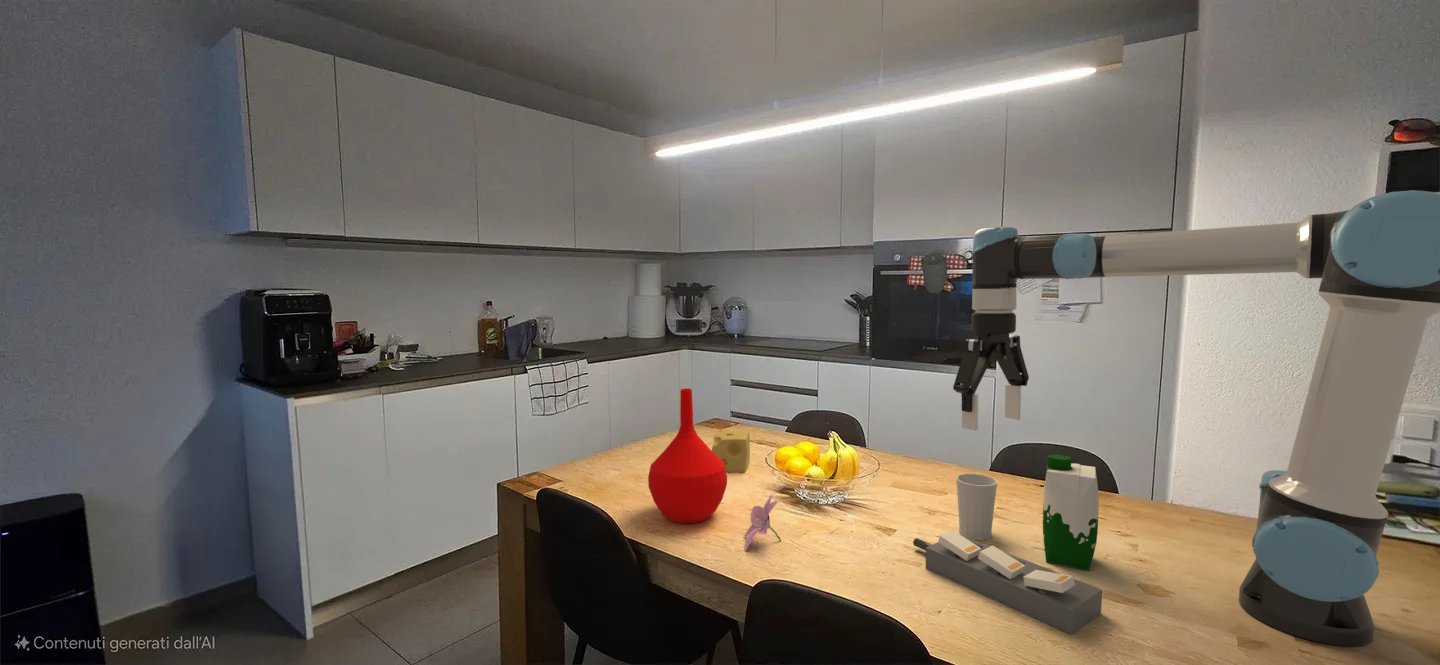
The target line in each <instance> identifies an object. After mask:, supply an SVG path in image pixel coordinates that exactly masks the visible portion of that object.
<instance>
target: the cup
mask: <svg viewBox="0 0 1440 665" xmlns="http://www.w3.org/2000/svg"><path fill="white" fill-rule="evenodd" d="M955 480H956V493H957V494H956V495H957V508H958V509H957V511H958V525H959V528H958V530H959V532H958V534H960V535H962V536H964V537H967V538H969V539H972V540H975V541H977V542H979V541H980V542H982V541H983V542H984V541H988V540H991V538H992V532H993V530H992V529H993V519H994V513H995V505H996V504H995V503H996V495H997V487H998V480H997V479H996V478H994V477H993V476H989V475H986V474H981V473H971V472H969V473H968V472H967V473H961V474H958V475H957V476H956V478H955Z"/></svg>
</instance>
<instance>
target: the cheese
mask: <svg viewBox="0 0 1440 665" xmlns="http://www.w3.org/2000/svg"><path fill="white" fill-rule="evenodd" d="M750 437H751V436H750V431H749V430H748V431H747V430H746V431H745V430H721V429H720V430H716V432H715V433H714V436H713V444H712V447H711V451H713V452H714V453H715V454H716V455H717V456H718V457H719V458H720V459H721V460H722V461H723V462H724V464H725V468H726V473H733V472H741V473H740V474H746V473H745V472H747V470H748V467H749V464H750V459H751V458H750V453H751V447H750V446H751V444H750V443H751V441H750Z"/></svg>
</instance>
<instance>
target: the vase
mask: <svg viewBox="0 0 1440 665" xmlns="http://www.w3.org/2000/svg"><path fill="white" fill-rule="evenodd" d="M679 400H680V407H679V409H680V412H679V413H680V425H679V430H678V432H677V434H676V436H675V437H674V438H673V439H672V440H671V441H670V443H669V444H668V446H666V448H665V449H664V450H663V451H662V452H661V453H660V455H658V456H657V458H655V460H654V461H653V462H652V463H651V464H650V466H649V472H648V478H647V479H648V481H647V482H648V483H647V484H648V489H649V492H650V495H651V497H652V500H653V503H654V504H655V506H656V507H657V509H658V510H659V511H660V513H661V514H662V515H663V516H664V517H666V518H667V519H668V520H669V521H671V522H674V523H677V524H678V523H679V524H696V523H697V524H698V523H701V522H704V521H705V520H708V519H709V518H710V517H711V516H712V515H713V514H714V513H715V512H716V510H717V509H718V507H719V506H720V505H721V502H722V500H723V498H724V495H725V492H726V488H727V486H728V472H726V468H725V464H724V462H723V461H722V460H721V459H720V458H719V457H718V456H717V455H716V454H715V453H714V452H713V451H712V449H711V448H710V447H709V446H708V445H707V444H706V443H705V441H703V440H702V438H700V436H699V435H698V433H697V432H696V430H695V426H694V409H693V408H694V407H693V406H694V404H693V389H692V388H681V389H680V399H679Z"/></svg>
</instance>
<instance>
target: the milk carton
mask: <svg viewBox="0 0 1440 665" xmlns="http://www.w3.org/2000/svg"><path fill="white" fill-rule="evenodd" d="M1046 457H1047V459H1046V464H1045V482H1044V491H1043V505H1042V506H1043V507H1042V509H1043V510H1042V513H1043V514H1042V537H1043V538H1042V539H1043V546H1044V555H1045V562H1046V563H1050V564H1054V565H1059V566H1064V567H1068V568H1073V569H1078V570H1081V571H1082V570H1083V571H1087V572H1090V571H1091V567H1092V566H1091V565H1092V562H1093V559H1094V556H1095V555H1094V554H1095V551H1096V547H1097V542H1098V541H1097V540H1098V533H1099V532H1098V531H1099V530H1098V529H1099V528H1098V527H1099V510H1100V508H1099V506H1100V498H1099V486H1098V485H1099V484H1098V478H1097V471H1096V466H1089V465H1082V464H1080V463H1072V457H1071V456H1069V455H1066V454H1060V453H1048V454H1047V456H1046Z"/></svg>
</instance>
